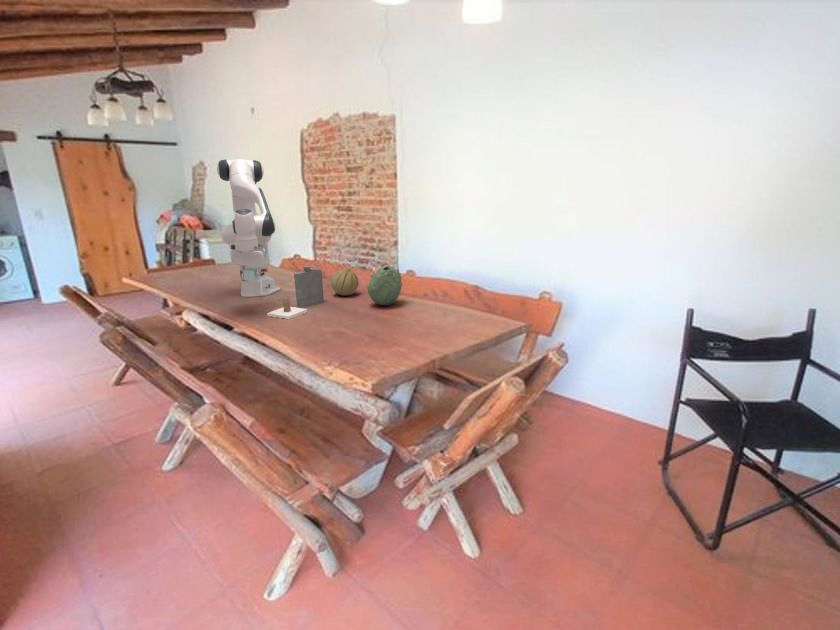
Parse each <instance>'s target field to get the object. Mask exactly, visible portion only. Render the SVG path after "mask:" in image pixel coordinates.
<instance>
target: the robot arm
mask: <svg viewBox="0 0 840 630" xmlns="http://www.w3.org/2000/svg"><path fill="white" fill-rule="evenodd" d="M216 171H217V174H218V177H219V178H220V179H221V180H222V181H225V182H229V185H230V189H231V197H232V198H231V199H232V210H233V213H234V218H233V220H232V222H231V224H226V225H224V226H222V228H221V231H220V236H221V240H222V241H223V242H224V243H225V244H227V245H228V246H229V250H230V261H231V262H230V263H232V265H235V266H239V268H240V269H239V277H240V278H241V279H240V280H241V281H240V284H241V289H240V296H242V297H246V298H247V297H248V298H255V297H263V296H264V297H265V296H269V295H271V294H273V293H276V292H278V291H280V290H281V288H280V287H278V286H276V282H275V280H274V279H273V278H272V277H270V276H268V275H266V273H267V272H268V270H269V269H268V267H269V265H270V264H269V263H270V261H269V258H268V254H267V250H266V249H265V248H264V247H263V246H259V245H260V244H265V243H269V242H270V241H271V239H272V236H273V234H274V233H275V231H276V223H275V220H274V218H273V216H272V214H271V211H270V208H269V204H268V202H267V199H266V196H265V194H264V191H263V190H262V188H261V187H259V186H257V183H259V182H261V180H262V179H263V177H264V168H263V165H262V163H261V162H260V161H259V160H255V159H253V160H250V159H244V158H242V159H241V158H237V159H236V158H235V159H220V160H219V161H218V163H217V167H216ZM256 204H257V206H258V207H259V212H260V215H259V214H258V213H257V208H256ZM247 268H256V269H257V271H256V273H255V276H258V277H259V280H255V281H245V278H244V269H247ZM265 272H266V273H265Z"/></svg>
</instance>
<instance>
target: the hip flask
mask: <svg viewBox="0 0 840 630" xmlns="http://www.w3.org/2000/svg"><path fill="white" fill-rule="evenodd" d="M302 268H303V270H301V271H297V272H294V273H293V277H294V287H295V288H294V289H295V298H296V308H303V307H304V308H306V307H309V306H313V305H316V304H323V303H324V302H325V297H324V285H323V284H324V283H323V274H322V272H323V270H322V268H311V265H304V266H303V267H302ZM304 308H303V309H304Z"/></svg>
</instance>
